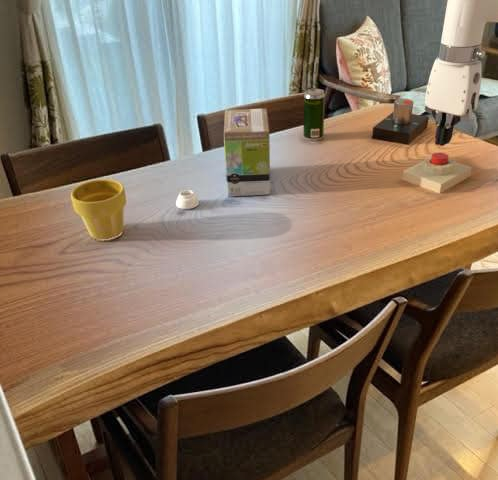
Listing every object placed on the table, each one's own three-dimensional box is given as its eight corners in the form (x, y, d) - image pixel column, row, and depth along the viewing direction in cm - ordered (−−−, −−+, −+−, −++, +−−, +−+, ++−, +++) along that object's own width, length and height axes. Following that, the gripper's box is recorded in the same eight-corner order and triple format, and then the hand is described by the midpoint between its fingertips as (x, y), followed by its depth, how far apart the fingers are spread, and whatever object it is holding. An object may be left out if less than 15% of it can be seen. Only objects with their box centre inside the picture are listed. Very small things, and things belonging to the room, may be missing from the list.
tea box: (271, 195, 121) (270, 129, 112) (227, 197, 121) (221, 132, 112) (268, 167, 133) (266, 106, 123) (228, 169, 133) (223, 108, 123)
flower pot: (142, 231, 111) (134, 187, 105) (100, 252, 106) (88, 207, 100) (114, 216, 117) (104, 173, 111) (72, 235, 112) (59, 191, 105)
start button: (436, 158, 123) (437, 151, 122) (450, 163, 121) (451, 155, 120) (427, 163, 121) (428, 155, 120) (441, 167, 119) (442, 160, 118)
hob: (392, 121, 152) (394, 110, 150) (427, 127, 148) (429, 115, 146) (371, 138, 144) (373, 126, 142) (407, 145, 139) (409, 133, 137)
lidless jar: (176, 201, 121) (176, 211, 117) (175, 188, 119) (174, 199, 115) (199, 199, 121) (199, 209, 117) (197, 187, 119) (197, 197, 116)
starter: (432, 164, 129) (435, 147, 127) (470, 176, 123) (474, 159, 121) (401, 180, 124) (404, 163, 121) (439, 193, 118) (442, 176, 115)
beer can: (326, 139, 144) (328, 93, 137) (307, 142, 144) (307, 96, 136) (319, 132, 148) (320, 87, 141) (300, 135, 148) (301, 89, 140)
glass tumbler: (389, 122, 143) (391, 101, 140) (396, 117, 146) (399, 96, 143) (406, 126, 141) (409, 104, 138) (413, 120, 144) (416, 99, 140)
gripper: (504, 55, 104) (482, 147, 116) (437, 43, 113) (423, 130, 125) (483, 63, 100) (462, 158, 112) (415, 50, 109) (403, 139, 121)
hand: (442, 143), depth 118 cm, fingers closed
